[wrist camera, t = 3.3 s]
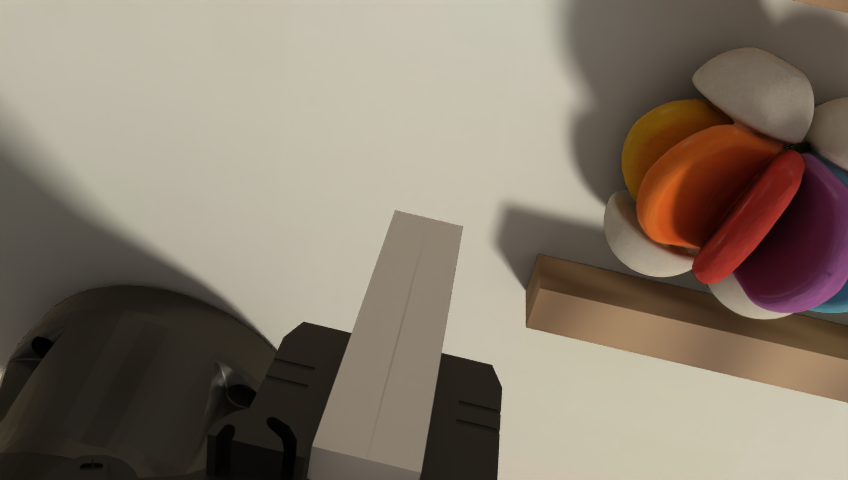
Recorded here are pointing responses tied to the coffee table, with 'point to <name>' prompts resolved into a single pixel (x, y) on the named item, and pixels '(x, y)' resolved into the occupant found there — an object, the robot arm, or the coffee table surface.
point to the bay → (688, 323)
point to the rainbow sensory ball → (740, 189)
